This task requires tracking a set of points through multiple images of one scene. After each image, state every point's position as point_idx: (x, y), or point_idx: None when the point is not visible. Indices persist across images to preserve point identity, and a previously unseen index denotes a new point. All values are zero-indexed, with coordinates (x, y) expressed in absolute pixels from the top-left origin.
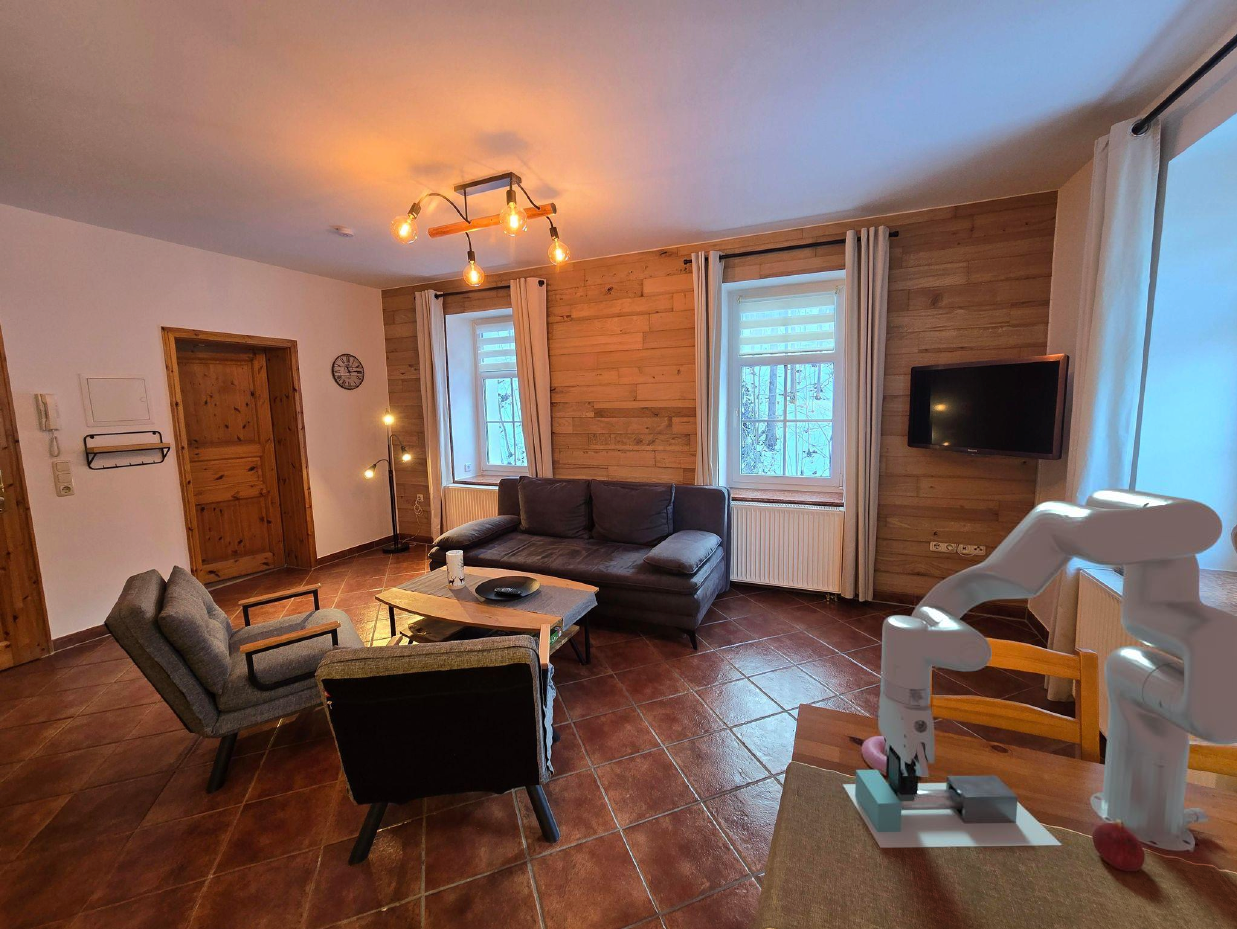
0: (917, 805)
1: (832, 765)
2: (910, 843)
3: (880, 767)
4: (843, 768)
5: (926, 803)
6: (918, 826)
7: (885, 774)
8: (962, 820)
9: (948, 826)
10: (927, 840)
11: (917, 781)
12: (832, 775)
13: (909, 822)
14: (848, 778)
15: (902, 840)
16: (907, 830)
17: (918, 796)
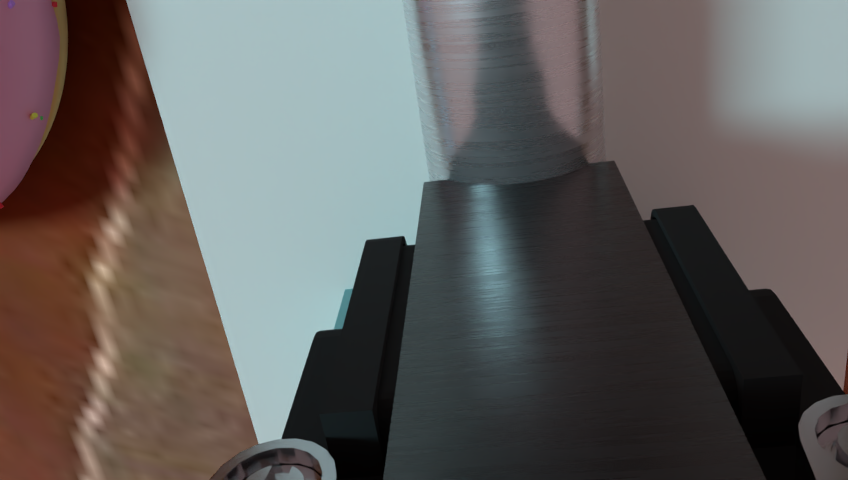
0: (602, 107)
1: (29, 429)
2: (831, 228)
3: (7, 179)
4: (35, 369)
5: (598, 10)
6: (659, 87)
7: (48, 125)
8: None
9: None
10: (809, 78)
11: (748, 297)
12: (140, 455)
13: (619, 147)
14: (140, 368)
15: (792, 269)
16: (701, 196)
17: (563, 98)
